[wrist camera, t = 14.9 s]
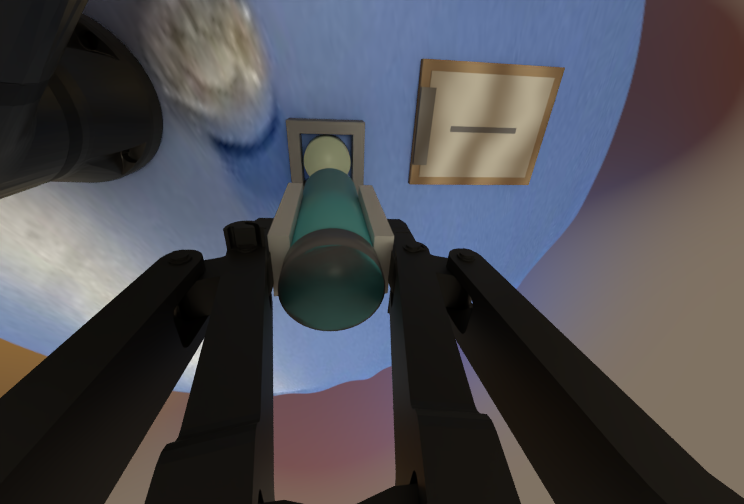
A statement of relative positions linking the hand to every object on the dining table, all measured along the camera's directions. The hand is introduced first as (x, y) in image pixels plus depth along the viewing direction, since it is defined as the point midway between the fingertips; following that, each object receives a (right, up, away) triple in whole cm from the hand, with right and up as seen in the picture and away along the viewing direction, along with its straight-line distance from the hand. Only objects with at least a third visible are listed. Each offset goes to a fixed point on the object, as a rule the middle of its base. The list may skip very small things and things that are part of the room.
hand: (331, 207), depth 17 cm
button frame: (-3, +9, +17) cm, 19 cm away
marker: (-1, +2, +5) cm, 5 cm away
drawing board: (+15, +12, +18) cm, 26 cm away
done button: (-3, +8, +17) cm, 19 cm away
